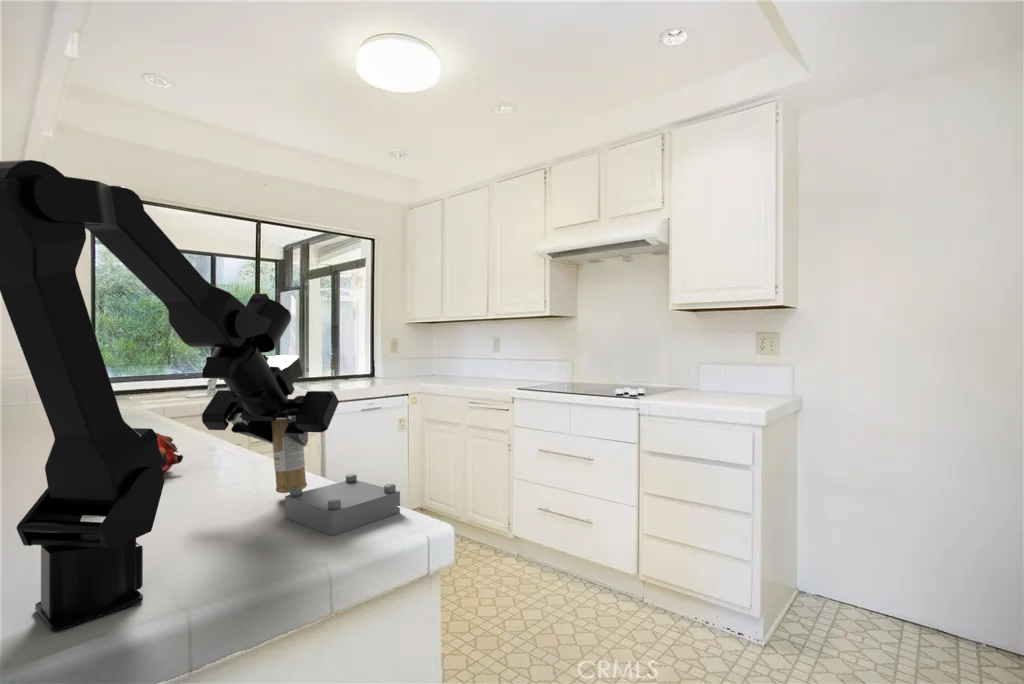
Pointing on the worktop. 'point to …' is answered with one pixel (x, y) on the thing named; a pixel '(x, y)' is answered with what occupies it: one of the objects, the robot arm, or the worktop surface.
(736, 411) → the worktop surface
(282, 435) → the sprinkles bottle
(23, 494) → the worktop surface
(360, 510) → the base brick
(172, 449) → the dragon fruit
